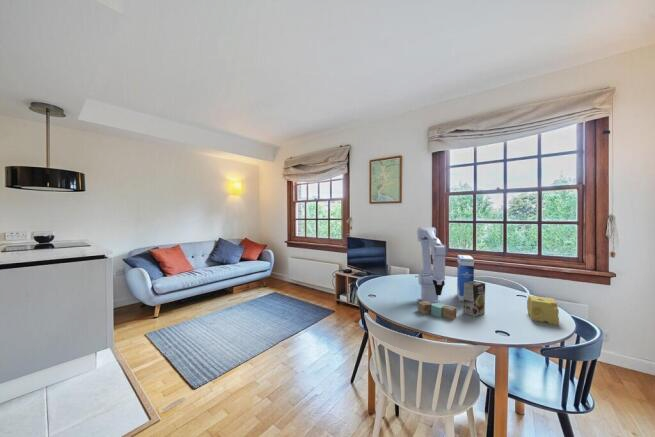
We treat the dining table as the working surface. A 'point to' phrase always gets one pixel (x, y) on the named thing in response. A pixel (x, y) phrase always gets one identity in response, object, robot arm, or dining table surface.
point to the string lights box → (464, 273)
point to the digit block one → (424, 307)
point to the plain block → (437, 310)
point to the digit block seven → (449, 312)
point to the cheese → (543, 309)
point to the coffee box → (474, 298)
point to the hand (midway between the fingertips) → (438, 294)
